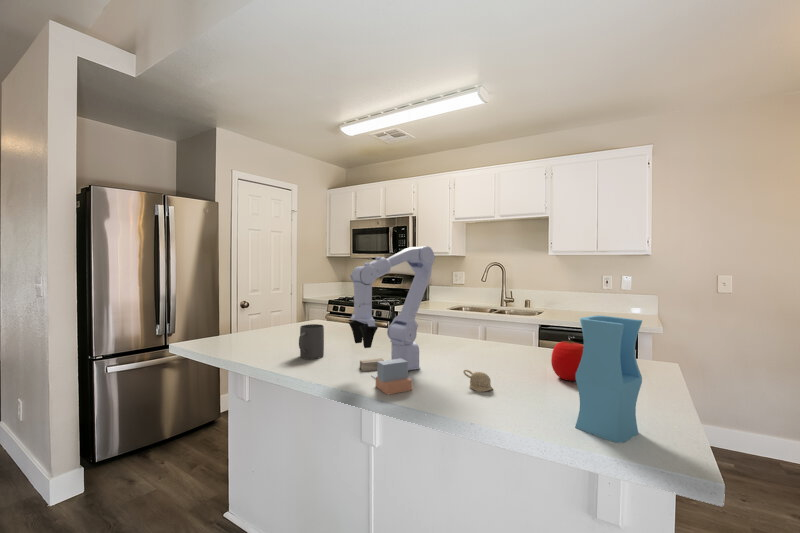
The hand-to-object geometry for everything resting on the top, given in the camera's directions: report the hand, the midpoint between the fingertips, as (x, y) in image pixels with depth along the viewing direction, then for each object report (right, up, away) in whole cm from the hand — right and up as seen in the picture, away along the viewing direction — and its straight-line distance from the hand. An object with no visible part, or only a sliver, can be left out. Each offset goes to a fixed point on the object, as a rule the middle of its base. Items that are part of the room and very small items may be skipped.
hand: (362, 345), depth 123 cm
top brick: (+10, -8, -11) cm, 16 cm away
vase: (+59, -12, -37) cm, 71 cm away
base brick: (+10, -11, -10) cm, 18 cm away
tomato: (+67, -11, -1) cm, 68 cm away
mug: (-23, -10, +24) cm, 35 cm away
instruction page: (+8, -10, +1) cm, 13 cm away
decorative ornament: (+35, -11, -10) cm, 38 cm away
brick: (+2, -11, +11) cm, 15 cm away
